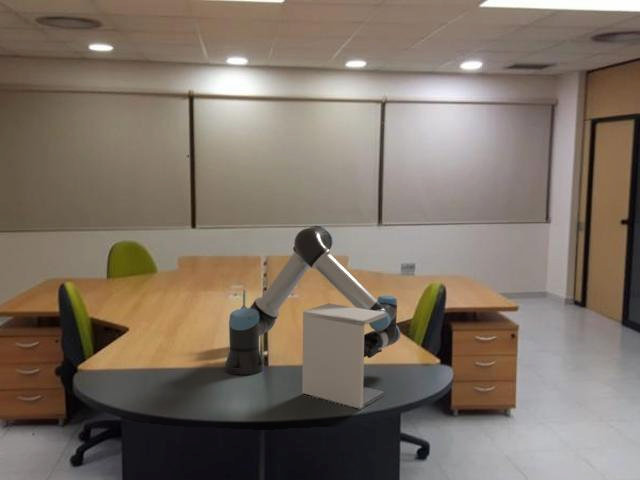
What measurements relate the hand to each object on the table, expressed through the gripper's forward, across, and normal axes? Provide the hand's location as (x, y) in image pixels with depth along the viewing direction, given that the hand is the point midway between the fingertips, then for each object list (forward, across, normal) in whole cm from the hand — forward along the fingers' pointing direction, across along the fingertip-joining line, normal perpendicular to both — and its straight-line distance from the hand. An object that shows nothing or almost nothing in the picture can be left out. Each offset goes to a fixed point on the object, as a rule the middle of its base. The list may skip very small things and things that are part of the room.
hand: (341, 355), depth 213 cm
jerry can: (-26, +66, -15) cm, 73 cm away
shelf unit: (-2, 0, -15) cm, 15 cm away
